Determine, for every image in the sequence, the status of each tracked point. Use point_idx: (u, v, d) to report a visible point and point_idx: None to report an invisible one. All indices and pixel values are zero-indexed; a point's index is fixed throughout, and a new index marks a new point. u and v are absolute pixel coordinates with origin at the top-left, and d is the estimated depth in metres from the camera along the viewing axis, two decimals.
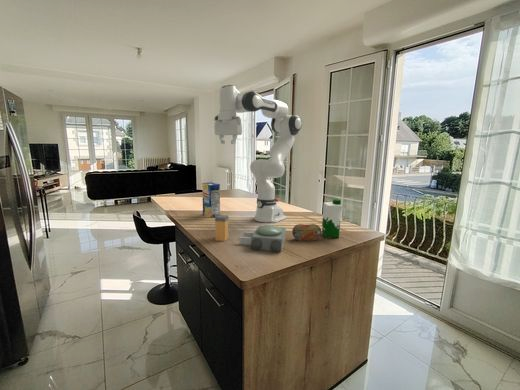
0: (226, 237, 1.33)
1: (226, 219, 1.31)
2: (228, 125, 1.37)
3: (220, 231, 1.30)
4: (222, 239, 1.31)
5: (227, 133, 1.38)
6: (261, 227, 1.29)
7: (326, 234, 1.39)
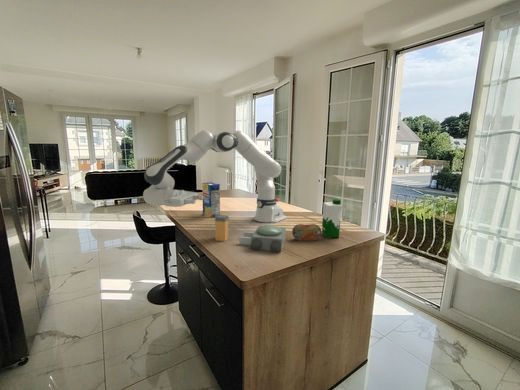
0: (226, 237, 1.33)
1: (226, 219, 1.31)
2: None
3: (220, 231, 1.30)
4: (222, 239, 1.31)
5: None
6: (261, 227, 1.29)
7: (326, 234, 1.39)
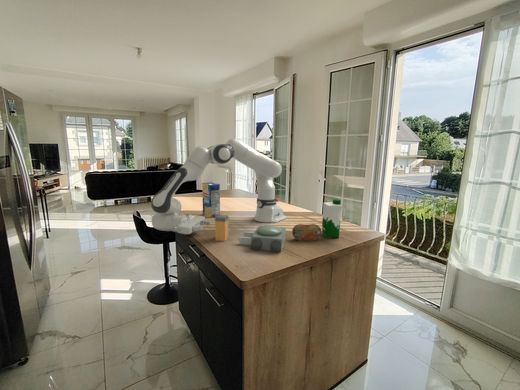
0: (226, 237, 1.33)
1: (226, 219, 1.31)
2: None
3: (220, 231, 1.30)
4: (222, 239, 1.31)
5: None
6: (261, 227, 1.29)
7: (326, 234, 1.39)
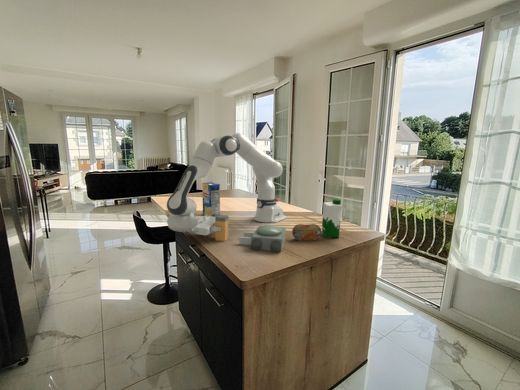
0: (226, 237, 1.33)
1: (226, 219, 1.31)
2: None
3: (220, 231, 1.30)
4: (222, 239, 1.31)
5: None
6: (261, 227, 1.29)
7: (326, 234, 1.39)
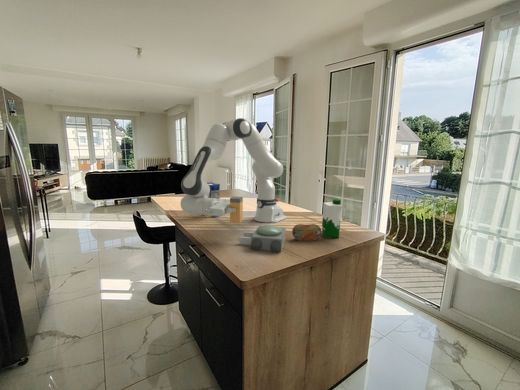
0: (241, 219, 1.30)
1: (241, 200, 1.28)
2: None
3: (235, 213, 1.27)
4: (237, 221, 1.28)
5: None
6: (261, 227, 1.29)
7: (326, 234, 1.39)
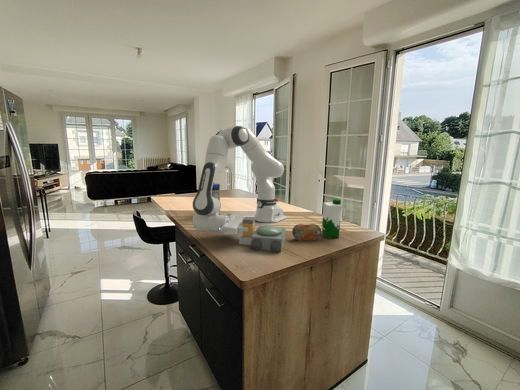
0: None
1: (253, 221, 1.28)
2: None
3: (247, 233, 1.28)
4: None
5: None
6: (261, 227, 1.29)
7: (326, 234, 1.39)
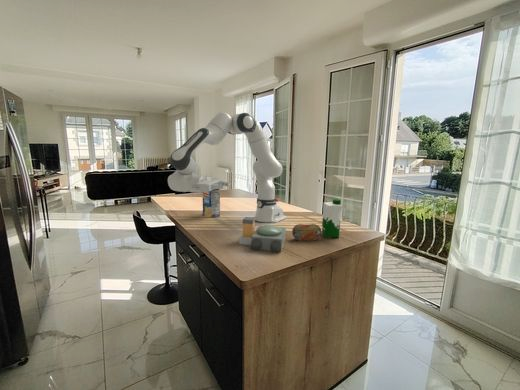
0: None
1: (253, 221, 1.28)
2: None
3: (247, 233, 1.28)
4: None
5: None
6: (261, 227, 1.29)
7: (326, 234, 1.39)
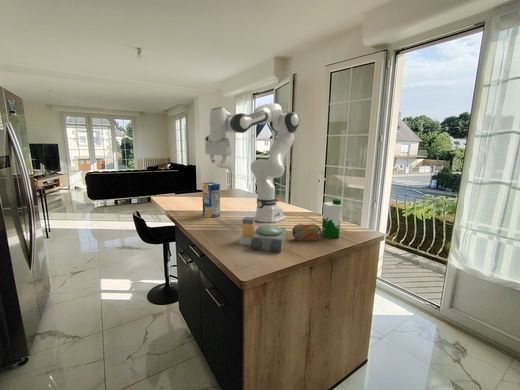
0: None
1: (253, 221, 1.28)
2: (218, 146, 1.41)
3: (247, 233, 1.28)
4: None
5: (217, 153, 1.42)
6: (261, 227, 1.29)
7: (326, 234, 1.39)
